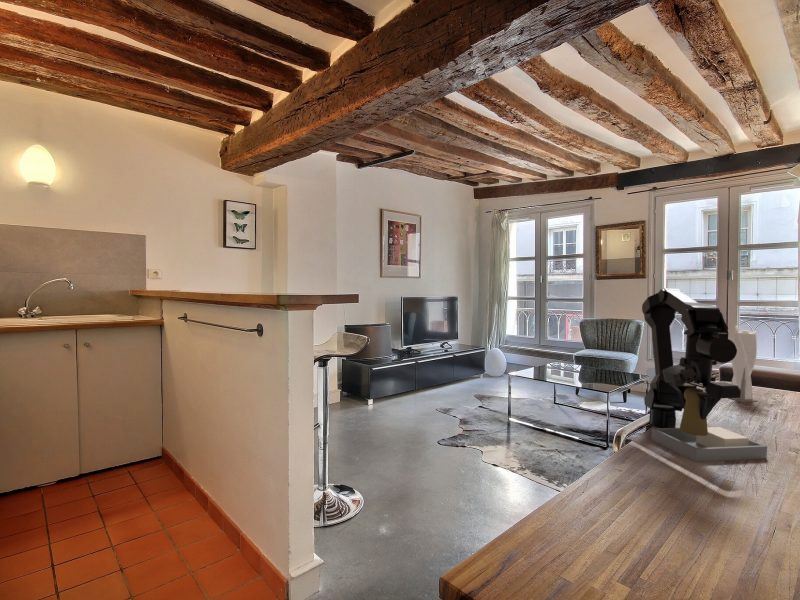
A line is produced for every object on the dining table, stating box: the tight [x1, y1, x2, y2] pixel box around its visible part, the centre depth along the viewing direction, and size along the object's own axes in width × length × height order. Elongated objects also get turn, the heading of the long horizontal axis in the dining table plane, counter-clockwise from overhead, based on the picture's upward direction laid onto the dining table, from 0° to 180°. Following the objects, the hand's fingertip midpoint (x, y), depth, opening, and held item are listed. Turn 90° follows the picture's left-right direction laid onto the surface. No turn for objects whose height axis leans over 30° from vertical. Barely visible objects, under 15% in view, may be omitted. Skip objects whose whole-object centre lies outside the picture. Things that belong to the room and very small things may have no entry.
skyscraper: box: [728, 325, 758, 403], centre depth 164 cm, size 8×8×28 cm
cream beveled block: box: [696, 426, 750, 448], centre depth 110 cm, size 8×7×4 cm
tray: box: [650, 427, 768, 463], centre depth 110 cm, size 14×20×4 cm
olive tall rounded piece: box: [679, 387, 708, 436], centre depth 108 cm, size 6×6×11 cm
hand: (694, 416), depth 109 cm, fingers closed on olive tall rounded piece, 4 cm apart
